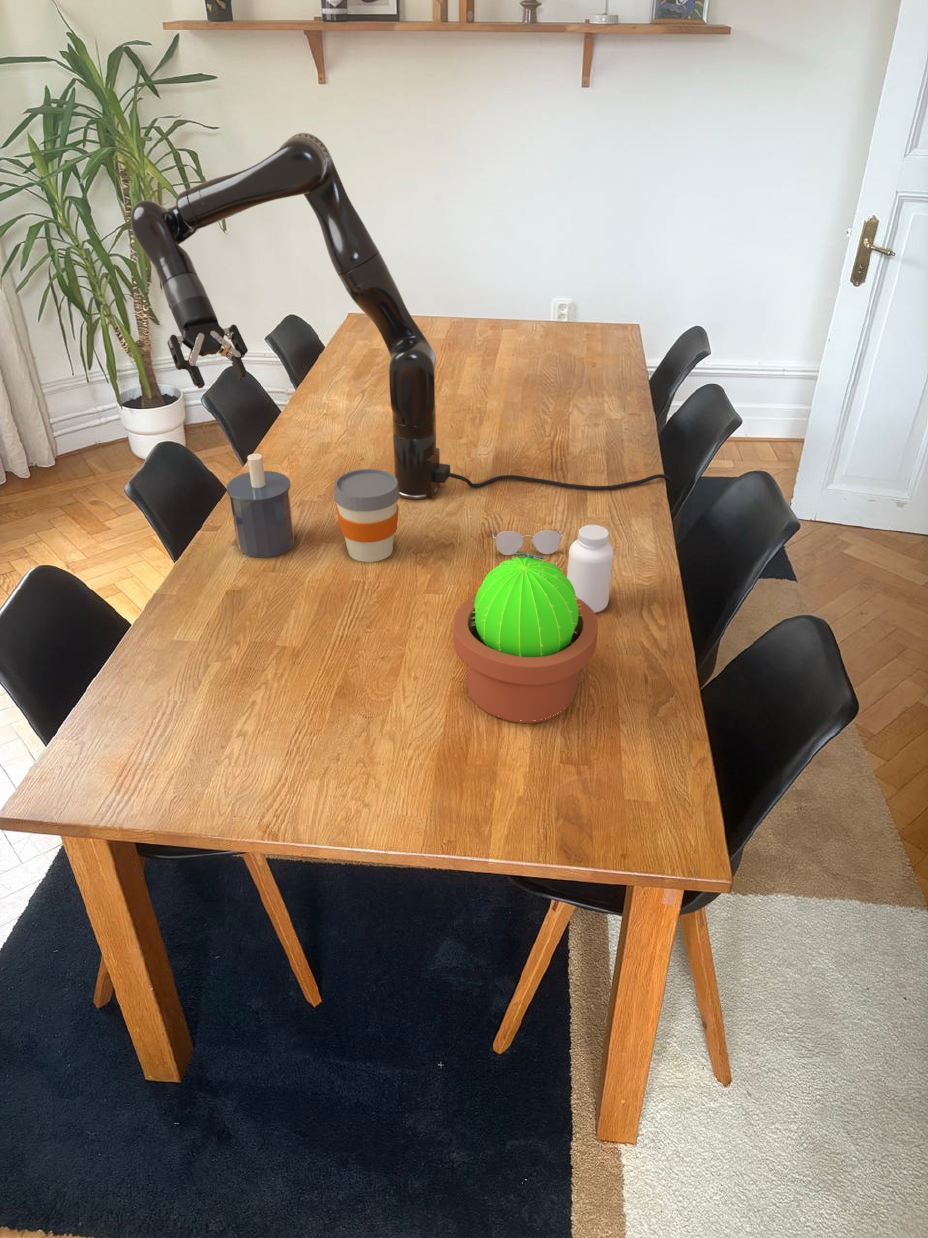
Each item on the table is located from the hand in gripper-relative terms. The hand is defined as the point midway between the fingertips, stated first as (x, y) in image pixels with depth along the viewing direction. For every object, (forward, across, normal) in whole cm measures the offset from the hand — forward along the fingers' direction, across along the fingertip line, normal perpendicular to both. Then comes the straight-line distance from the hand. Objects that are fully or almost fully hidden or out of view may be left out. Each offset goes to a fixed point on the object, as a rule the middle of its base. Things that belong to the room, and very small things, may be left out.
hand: (222, 382), depth 182 cm
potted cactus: (+74, +9, -40) cm, 84 cm away
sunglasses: (+51, +41, -15) cm, 67 cm away
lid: (+21, 0, +3) cm, 21 cm away
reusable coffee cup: (+40, +15, -1) cm, 43 cm away
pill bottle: (+66, +36, -32) cm, 81 cm away
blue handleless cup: (+30, +1, +11) cm, 32 cm away
